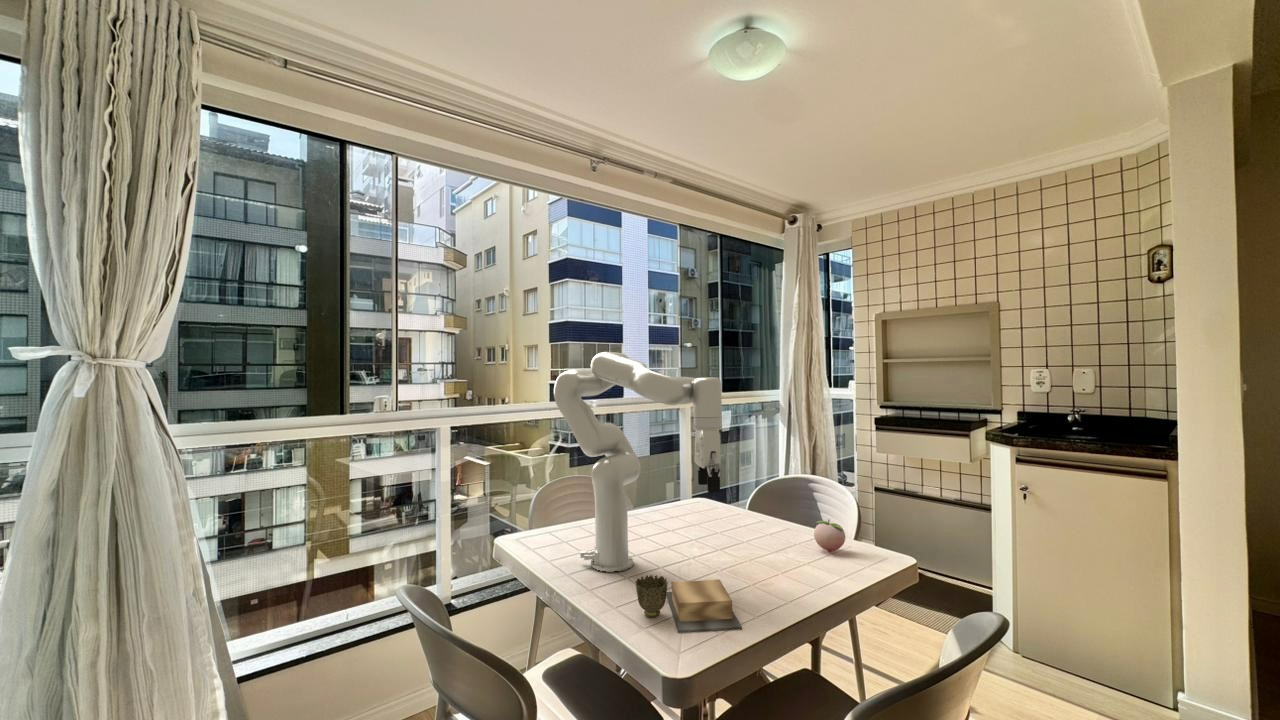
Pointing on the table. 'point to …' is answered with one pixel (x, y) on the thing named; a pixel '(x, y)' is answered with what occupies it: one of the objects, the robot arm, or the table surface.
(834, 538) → the decorative fruit
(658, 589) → the cup
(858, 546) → the table surface
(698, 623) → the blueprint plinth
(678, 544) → the table surface
